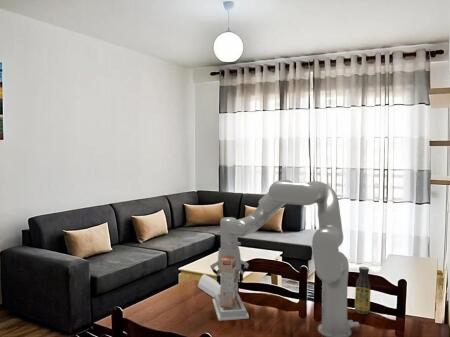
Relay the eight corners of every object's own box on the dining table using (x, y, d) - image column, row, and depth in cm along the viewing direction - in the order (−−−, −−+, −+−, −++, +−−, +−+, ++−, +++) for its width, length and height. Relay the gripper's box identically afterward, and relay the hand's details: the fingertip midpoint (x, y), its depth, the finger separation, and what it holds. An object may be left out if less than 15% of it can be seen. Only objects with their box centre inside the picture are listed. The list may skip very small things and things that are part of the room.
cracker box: (233, 308, 172) (233, 260, 171) (219, 307, 173) (219, 259, 172) (238, 296, 186) (238, 251, 185) (226, 295, 187) (225, 251, 186)
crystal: (192, 280, 209) (214, 294, 188) (203, 271, 212) (226, 284, 191) (199, 291, 211) (221, 306, 191) (209, 282, 214) (232, 296, 193)
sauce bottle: (353, 313, 174) (353, 268, 173) (356, 308, 179) (356, 264, 179) (369, 316, 171) (369, 270, 170) (371, 311, 176) (371, 266, 176)
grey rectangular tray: (239, 299, 192) (239, 292, 191) (248, 318, 170) (248, 310, 170) (212, 301, 190) (212, 293, 190) (218, 320, 168) (218, 312, 168)
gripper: (246, 242, 183) (247, 279, 184) (209, 244, 181) (209, 281, 182) (249, 246, 176) (250, 284, 177) (210, 248, 174) (211, 287, 174)
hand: (230, 283), depth 179 cm, fingers open, 9 cm apart
